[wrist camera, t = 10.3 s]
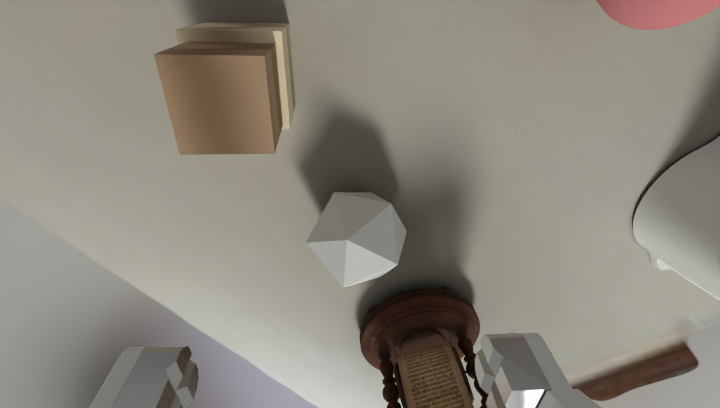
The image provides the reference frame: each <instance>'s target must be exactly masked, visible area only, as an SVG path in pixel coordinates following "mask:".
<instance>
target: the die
mask: <svg viewBox="0 0 720 408" xmlns="http://www.w3.org/2000/svg"><path fill="white" fill-rule="evenodd" d="M406 233H407V231H406V229H405V227H404V225H403V224H402V222H401V220H400V218H399V217H398V215H397V213H396V211H395V210H394V208H393V206H392V204H391V203H389V202H387V201H385V200H384V199H382V198H380V197H379V196H377V195H375V194H374V193H372V192H334V193H333V195H332V197H331V198H330V200H329V202H328V204H327V206H326V207H325V209H324V211H323V213H322V214H321V216H320V218H319V220H318V222H317V223H316V225H315V227H314V229H313V231H312V232H311V234H310V236H309V238H308V239H307V241H306V244H307V245H308V246H309V247H310V249H311V250H312V251H313V252H314V253H315V254H316V256H317V257H318V258H319V259H320V260H321V262H322V263H323V264H324V265H325V266H326V268H327V269H328V270H329V271H330V272H331V273H332V275H333V276H334V277H335V278H336V279H337V281H338V282H339V283H340V284H341V285H342V287H343V288H344V287H348V286H351V285H354V284H358V283H361V282H365V281H368V280H372V279H375V278H378V277H381V276H382V275H384V274H385V273H387V272H388V271H390V270H391V269H392V268H394V267H395V266H397V265H398V262H399V259H400V255H401V251H402V248H403V244H404V240H405V236H406Z"/></svg>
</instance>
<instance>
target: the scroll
mask: <svg viewBox="0 0 720 408" xmlns="http://www.w3.org/2000/svg"><path fill="white" fill-rule="evenodd" d="M479 331H480V323H479V319H478V316H477V314H476V312H475V310H474V308H473V307H472V305H471V304H470V303H469V302H468V301H467V300H466V299H465V298H463V297H462V296H460V295H458V294H456V293H453V292H452V291H451V290H450V289H449V288H448V287H447V286H444V287H443V290H439V289H422V290H415V291H410V292H406V293H403V294H400V295H397V296H395V297H393V298H391V299H389V300H387V301H385V302H384V303H382V304H381V305H379V306H378V307H377V308H375V309H374V310H373V309H369V310H368V313H367V318H366V320H365V321H364V323H363V325H362V328H361V331H360V344H361V350H362V353H363V356H364V357H365V359H366V360H367V361H368V362H369V363H370V364H371V365H372V366H374V367H375V368H377V369H379V370H380V371H381V373H382V375H383V376H384V378H385V379H383V384H384V385H385V387H384V388H383V397H384V399H385V400H386V401H387V402H389V404H388V406H387V408H401V405H400V403H399V402H397V401H398V399H399V398H400V399H401V402H402V406H403V408H474V407H473V404H472V403H473V400H474V398H473V394H472V391H471V388H470V385H469V382H468V379H467V376H466V373H468V375H469V376H470V377H471V378H473V379H475V381H474V386H475V388H476V390H477V391H478V392H479V394H480V395H481V396H482V400H481V403H482V406H481V407H480V408H487V405H486V401H487V397H488V394H487V393H486V392H485V391H484V390H483V389H482V388H481V387H480V385H479V382H478V379H477V376H476V371H475V358H476V354H475V353H473V345H474V344H475V342H476V340H477V338H478V335H479ZM464 355H465V357H464V361H465V362H467V365H466V371H465V370H464V367H463V365H462V362H461V359H460V358H462V357H463V356H464ZM393 374H395V378H394V377H393ZM395 382H396V384H397V385H396V384H395Z"/></svg>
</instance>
